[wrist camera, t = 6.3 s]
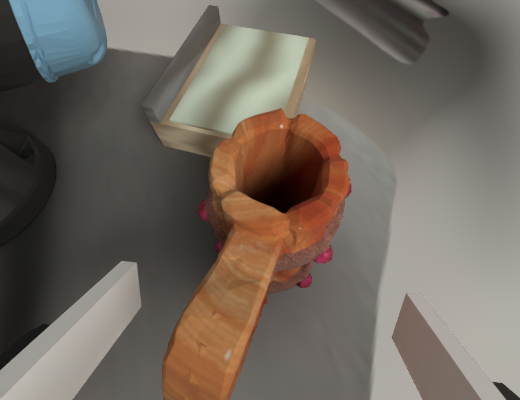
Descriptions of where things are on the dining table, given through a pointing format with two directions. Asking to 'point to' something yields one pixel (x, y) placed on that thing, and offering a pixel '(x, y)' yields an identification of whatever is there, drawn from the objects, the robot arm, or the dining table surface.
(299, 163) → the mug
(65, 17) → the robot arm
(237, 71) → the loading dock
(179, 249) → the dining table surface
